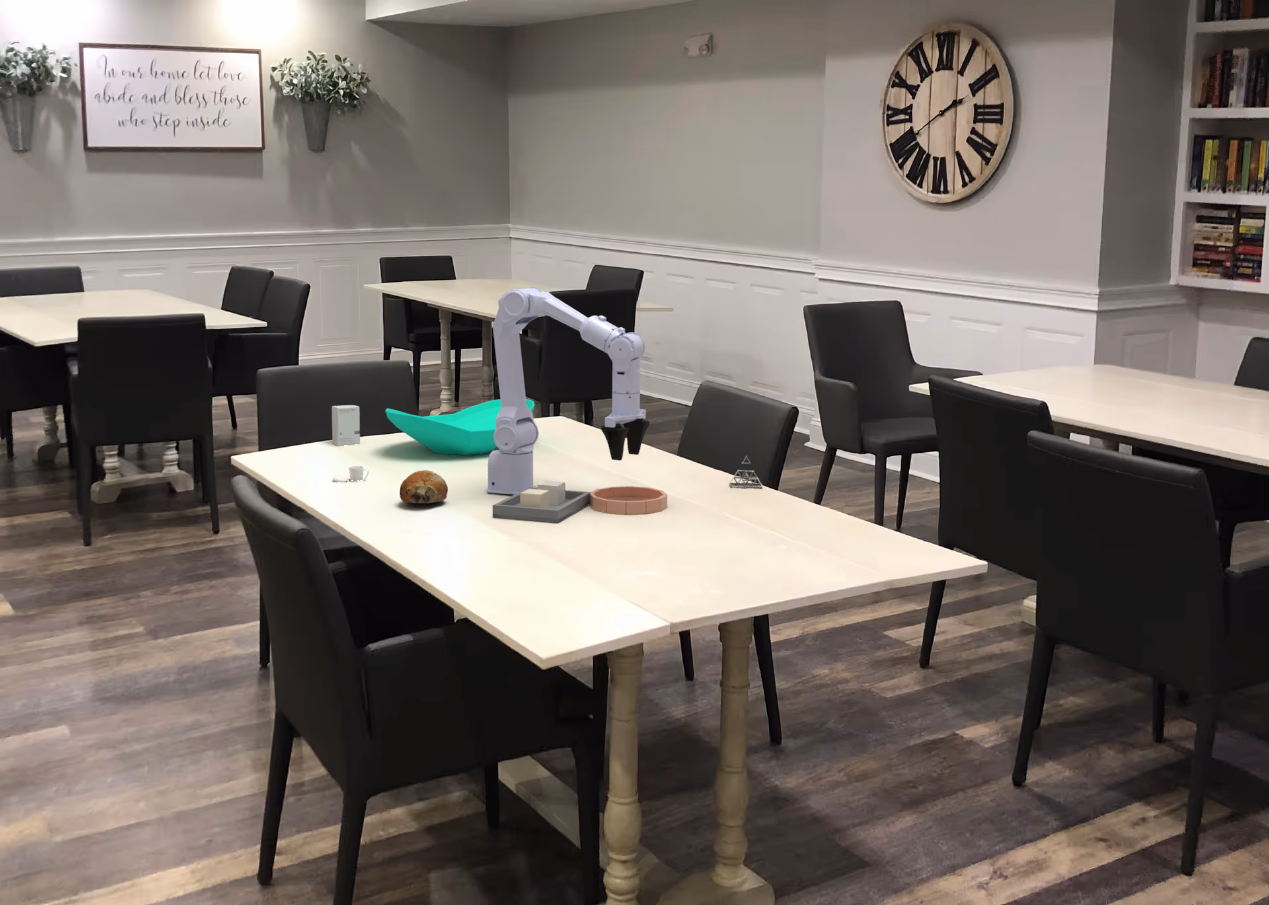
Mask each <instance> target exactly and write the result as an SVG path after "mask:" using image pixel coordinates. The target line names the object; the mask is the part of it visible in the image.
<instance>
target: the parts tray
mask: <svg viewBox="0 0 1269 905" xmlns="http://www.w3.org/2000/svg"><path fill="white" fill-rule="evenodd" d="M527 489H538V488H533V487H529V488H527ZM527 489H525V490H527ZM525 490H523V491H525ZM523 491H521V492H523ZM521 492H519V493H517V494H515V495H514V494H512V495H511V496H508V497H507V498H504V499H502V500H500V501H499V502H497V503H494V504H493V505H492V518H496V519H504V520H505V519H506V520H507V519H508V520H518V521H519V520H520V521H530V522H543V523H551V524H552V523H554V524H559V523H561V522H563V521H564V520H565V519H568V518H570V517H571V516H573V515H574V514H576V513H578V512H579V511H582V510H583V509H586V508H587V507H588V506H590V493H591V492H592V491H582V490H581V491H580V490H571V489H570V490H569V489H565V501H564V502H562V503H561V504H559V505H550V504H549V509H547V508H534V507H522V506H520V493H521Z"/></svg>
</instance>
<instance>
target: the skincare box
mask: <svg viewBox="0 0 1269 905" xmlns="http://www.w3.org/2000/svg"><path fill="white" fill-rule="evenodd" d="M360 415H361V413H360V406H358V405H354V404H347V405H345V404H344V405H343V404H342V405H332V406H331V430H332V431H331V432H332V433H331V434H332V439H331V440H332V441H331V442H332V445H334V446H336V447H345V446H344V445H348V446H354V445H355V444H357V445H360V444H361V433H360V432H361V430H360V428H361V427H360V426H361V424H360V423H361V422H360V420H361V419H360ZM355 446H356V445H355Z"/></svg>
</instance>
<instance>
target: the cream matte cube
mask: <svg viewBox="0 0 1269 905" xmlns="http://www.w3.org/2000/svg"><path fill="white" fill-rule="evenodd" d="M520 506H522V507H534V508H547V509H549V490H538V489H527V490H525V491H523V492H521V493H520Z"/></svg>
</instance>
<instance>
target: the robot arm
mask: <svg viewBox="0 0 1269 905" xmlns="http://www.w3.org/2000/svg"><path fill="white" fill-rule="evenodd" d="M497 303H498V309H497V313H496V316H495V318H494V321H493V324H492V330H493V332H492V333H493V339H494V349H495V360H496V369H497V370H496V371H497V380H498V387H499V397H500V399H501V410H500V412H499V414H498V415H497V417H496V429H495V432H494V442H495V444H496V446H497V448H498V449H494V450H492V451H490V452H489V455H488V460H487V490H486V492H487V493H492V494H500V495H501V494H502V495H515V494H517V493H519V492H521V491H523V490H525V489H527V488H529V487H533V488H538V485H536V486H535V485H534V444H535V443H536V442H537V441H538V439H539V433H540V432H539V428H538V425H537V424H536V422H535V419H534V413H533V412H532V411H531V410H530V409H529V408H528V407H527V405H526V399H527V397H526V388H525V376H524V366H523V357H522V347H521V340H520V339H521V336H520V333H521V332H522V330H524V328H525V327H526V326H527V325H528V324H529V323H530V322H532V321H533V320H535V319H537V318H539V317H541V316H544V317H545V316H547V317H551V318H552V319H553V320H557V321H559V322H560V323H562V324H565V325H567V326H568V327H570V328H572V329H574V330H576V331H578V332H579V333H580V334H579V335H580V337H581V339H582V341H585V342H586V343H587V344H589V345H592V346H593V347H595V348H597V349H599V350H600V351H602V352H604V353H605V354H607V355H608V357H609V358H610V360H611V362H612V380H611V381H612V382H611V383H612V387H611V388H612V390H611V391H612V392H611V393H612V394H611V396H612V397H611V398H612V400H611V406H612V407H611V413H610V414H609V415H608V416H605V417H604V424H603V425H601V426H600V427H601V428H600V429H601V432H602V433H603V434H602V435H604V438H605V439H606V440H605V441H606V443H607V446H608V449H609V450H608V451H609V454H610V458H611V460H612V461H622V460H623V457H624V450H625V442H626V444H627V452H628V455H634V456H635V455H636V456H637V455H638V456H639V455H640V451H641V447H642V443H643V440H644V437H645V434H646V432H647V429H648V427H649V426H650V420H648V419H646V418H647V417H646V416H647V415H646V414H647V409H643V408H640V407H641V404H640V403H641V397H640V395H641V357H643V356H644V353H645V350H646V346H645V342H644V340H643V338H642V337H641V336H639V335H638V334H637V333H636V332H627V333H626V329H625V328H623V327H622V326H621V327H618V326H616V325H615V324H612V323H610V322H609V321H607V317H606V316H604V315H591V316H590V317H587V316H586V315H584V314H582V313H581V312H579V311H578V310H576V309H574V307H572V306H570V305H568V304H566V303H565V302H563V301H562V300H560V299H559V298H558V297H555V296H554V295H552V293H551V292H547V291H543V290H542V289H540V288H539V287H528V288H519V289H518V288H512V289H509V290H507V291H506V292H505V293H504V294H503V295H502V296H501V297H500V298H499V299H498V302H497ZM622 425H623V426H622Z"/></svg>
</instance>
